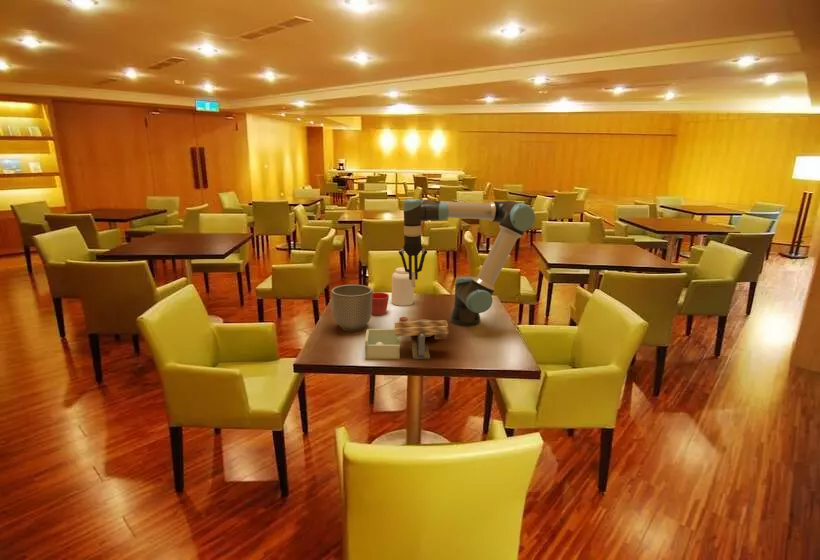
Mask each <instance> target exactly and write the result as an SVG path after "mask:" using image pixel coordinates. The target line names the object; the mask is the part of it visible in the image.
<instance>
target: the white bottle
mask: <svg viewBox="0 0 820 560" xmlns="http://www.w3.org/2000/svg"><path fill="white" fill-rule="evenodd" d="M407 269H409V267H407ZM394 271H395V272H393V273H392V275H391V303H392V305H396V306H400V307H402V306H403V307H406V306H411V305H413V304H414V301H415V300H414V299H415V298H414V296H415V295H414V292H415V287H412V286H411V280H409V273H408V272H405V269H404V266H400V267H396V268H395V270H394Z"/></svg>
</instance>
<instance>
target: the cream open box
mask: <svg viewBox="0 0 820 560" xmlns="http://www.w3.org/2000/svg"><path fill="white" fill-rule="evenodd" d="M377 342H382V343H383V344H384V345H375V344H376V343H377ZM364 344H365V345H364V350H365V351H364V354H365V355H364V359H365V360H400V359H401V358H400V357H401V355H400V353H401V349H400V348H401V345H400V344H401V343H400V336H395V328H367V329H366V331H365V341H364Z"/></svg>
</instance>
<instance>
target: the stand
mask: <svg viewBox="0 0 820 560" xmlns="http://www.w3.org/2000/svg"><path fill="white" fill-rule="evenodd" d="M416 336H417V337H416V339H417V341H416V344H412V345H411V353H412V359H413V360H430V359H431V354H430V349H429V345H428V344H426V343H425V342H426V337H425V332H419V335H416Z"/></svg>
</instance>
